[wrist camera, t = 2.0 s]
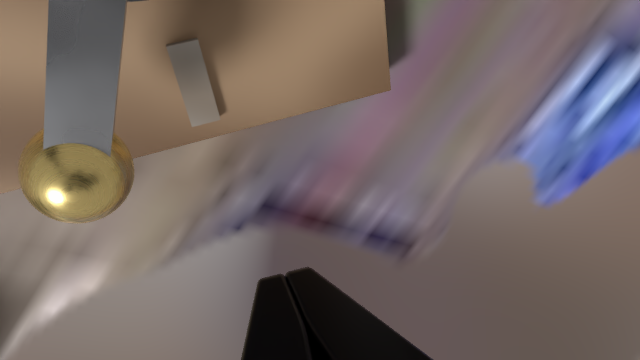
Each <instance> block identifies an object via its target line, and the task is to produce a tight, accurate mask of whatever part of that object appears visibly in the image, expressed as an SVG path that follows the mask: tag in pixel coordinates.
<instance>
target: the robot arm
mask: <svg viewBox="0 0 640 360" xmlns="http://www.w3.org/2000/svg"><path fill="white" fill-rule="evenodd" d="M241 360H433V359H431V358H430V357H429V356H428V355H426V354H425V353H424V352H422V351H421V350H420V349H418V348H417V347H416V346H414V345H413V344H411V343H410V342H409V341H408V340H406V339H405V338H404V337H402V336H401V335H400V334H398V333H397V332H395V331H394V330H393V329H392V328H390V327H389V326H388V325H386V324H385V323H384V322H382V321H381V320H380V319H378V318H377V317H376V316H374V315H373V314H372V313H370V312H369V311H368V310H366V309H365V308H364V307H362V306H361V305H360V304H358V303H357V302H356V301H354V300H353V299H352V298H350V297H349V296H348V295H346V294H345V293H344V292H342V291H341V290H340V289H339V288H337V287H336V286H335V285H333V284H332V283H331V282H329V281H328V280H327V279H325V278H324V277H323V276H321V275H320V274H319V273H317V272H316V271H315V270H313V269H312V268H309V267H305V268H301V269H297V270H293V271H289V272H287V273H286V275H285V276H284V275H283V274H277V275H273V276H270V277H265V278H262V279H260V280H259V281H258V284H257V288H256V293H255V297H254V302H253V306H252V311H251V316H250V320H249V325H248V329H247V334H246V339H245V343H244V348H243V353H242V357H241Z"/></svg>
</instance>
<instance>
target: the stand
mask: <svg viewBox="0 0 640 360" xmlns="http://www.w3.org/2000/svg"><path fill="white" fill-rule="evenodd" d="M48 2H49V0H0V194H1V193H5V192H9V191H13V190H16V189H20V188H21V186H20V183H19V179H18V163H19V159H20V156H21V153H22V151H23V149H24V147H25V146H26V144H27V143H28V141H29V140H30V139H31V138H32V137H33V136H34V135H35V134H36V133H37V132H39V131H40V130H41V129H43V128H44V112H45V85H46V57H47V30H48ZM389 90H391V86H390V73H389V59H388V45H387V31H386V17H385V4H384V0H146V1H135V2H127V10H126V20H125V29H124V39H123V49H122V59H121V69H120V79H119V89H118V98H117V108H116V118H115V128H114V133H115V134H117V135H118V136H119V137H120V138H121V139H122V140H123V142H124V143H125V144H126V146H127V147H128V149H129V151H130V154H131V156H132V159H133V158H137V157H141V156H145V155H148V154H152V153H156V152H160V151H163V150H167V149H171V148H175V147H178V146H182V145H186V144H190V143H194V142H197V141H201V140H205V139H209V138H212V137H216V136H220V135H224V134H227V133H231V132H235V131H239V130H242V129H246V128H250V127H254V126H258V125H261V124H265V123H269V122H273V121H276V120H280V119H284V118H288V117H291V116H295V115H299V114H303V113H307V112H310V111H314V110H318V109H322V108H325V107H329V106H333V105H337V104H340V103H344V102H348V101H352V100H355V99H359V98H363V97H367V96H371V95H374V94H378V93H382V92H386V91H389Z"/></svg>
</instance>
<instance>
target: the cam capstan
mask: <svg viewBox="0 0 640 360" xmlns="http://www.w3.org/2000/svg"><path fill="white" fill-rule="evenodd" d="M135 1H146V0H49V2H48V30H47V57H46V85H45V112H44V128H43V129H41V130H40V131H39V132H37V133H36V134H35V135H34V136H33V137H32V138H31V139H30V140H29V141H28V143H27V144H26V146H25V147H24V149H23V151H22V153H21V156H20V159H19V163H18V179H19V183H20V186H21V189H22V191H23V194H24V195H25V197H26V198H27V200H28V201H29V202H30V203H31V204H32V206H33V207H35V208H36V209H37V210H38V211H39V212H41V213H42V214H44V215H46V216H47V217H50V218H52V219H55V220H58V221H61V222H66V223H87V222H92V221H96V220H99V219H101V218H103V217H105V216H107V215H109V214H111V213H112V212H114V211H115V210H116V209H117V208H118V207H119V206H120V205H121V204H122V203H123V202H124V201H125V199H126V198H127V196H128V194H129V192H130V190H131V188H132V185H133V180H134V163H133V159H132V156H131V154H130V151H129V149H128V147H127V146H126V144H125V143H124V142H123V140H122V139H121V138H120V137H119V136H118V135H117V134H115V133H114V128H115V118H116V108H117V98H118V89H119V79H120V69H121V59H122V49H123V39H124V29H125V20H126V10H127V2H135Z"/></svg>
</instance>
